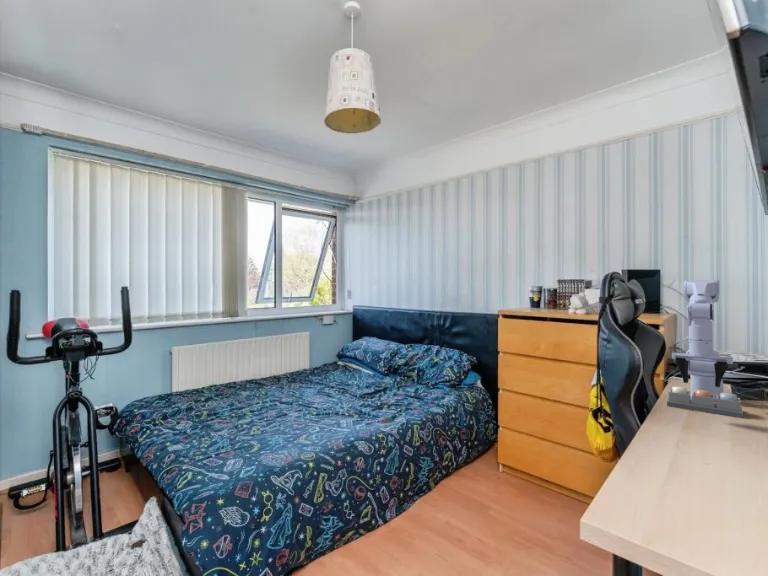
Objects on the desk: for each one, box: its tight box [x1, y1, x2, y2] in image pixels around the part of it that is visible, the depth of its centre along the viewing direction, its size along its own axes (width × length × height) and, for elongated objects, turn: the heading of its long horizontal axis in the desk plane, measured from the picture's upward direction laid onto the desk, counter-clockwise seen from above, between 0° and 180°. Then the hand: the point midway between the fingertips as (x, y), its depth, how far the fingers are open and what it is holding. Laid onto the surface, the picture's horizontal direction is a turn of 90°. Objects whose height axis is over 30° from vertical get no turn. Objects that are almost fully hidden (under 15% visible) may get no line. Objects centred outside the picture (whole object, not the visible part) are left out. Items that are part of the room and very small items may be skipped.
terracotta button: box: [695, 390, 711, 398], centre depth 124 cm, size 4×4×3 cm
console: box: [666, 388, 744, 419], centre depth 124 cm, size 19×9×4 cm, turn 48°
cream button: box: [671, 386, 688, 394], centre depth 128 cm, size 4×4×3 cm
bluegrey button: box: [720, 392, 738, 401], centre depth 120 cm, size 4×4×3 cm
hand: (701, 384), depth 115 cm, fingers open, 7 cm apart
